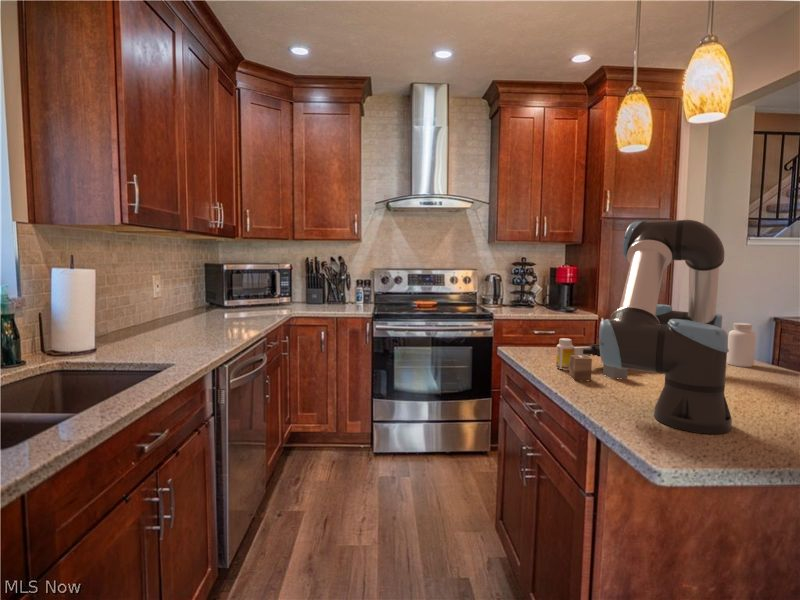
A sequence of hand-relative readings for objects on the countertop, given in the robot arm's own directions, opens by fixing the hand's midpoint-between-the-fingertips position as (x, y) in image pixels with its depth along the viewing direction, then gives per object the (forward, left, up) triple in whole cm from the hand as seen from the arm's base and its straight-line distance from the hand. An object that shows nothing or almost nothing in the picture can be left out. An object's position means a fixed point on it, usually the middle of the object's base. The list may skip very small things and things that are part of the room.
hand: (573, 351), depth 157 cm
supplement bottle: (-1, +3, -6) cm, 7 cm away
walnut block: (-14, +2, -6) cm, 15 cm away
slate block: (-11, -10, -6) cm, 16 cm away
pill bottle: (+11, -63, -6) cm, 64 cm away
